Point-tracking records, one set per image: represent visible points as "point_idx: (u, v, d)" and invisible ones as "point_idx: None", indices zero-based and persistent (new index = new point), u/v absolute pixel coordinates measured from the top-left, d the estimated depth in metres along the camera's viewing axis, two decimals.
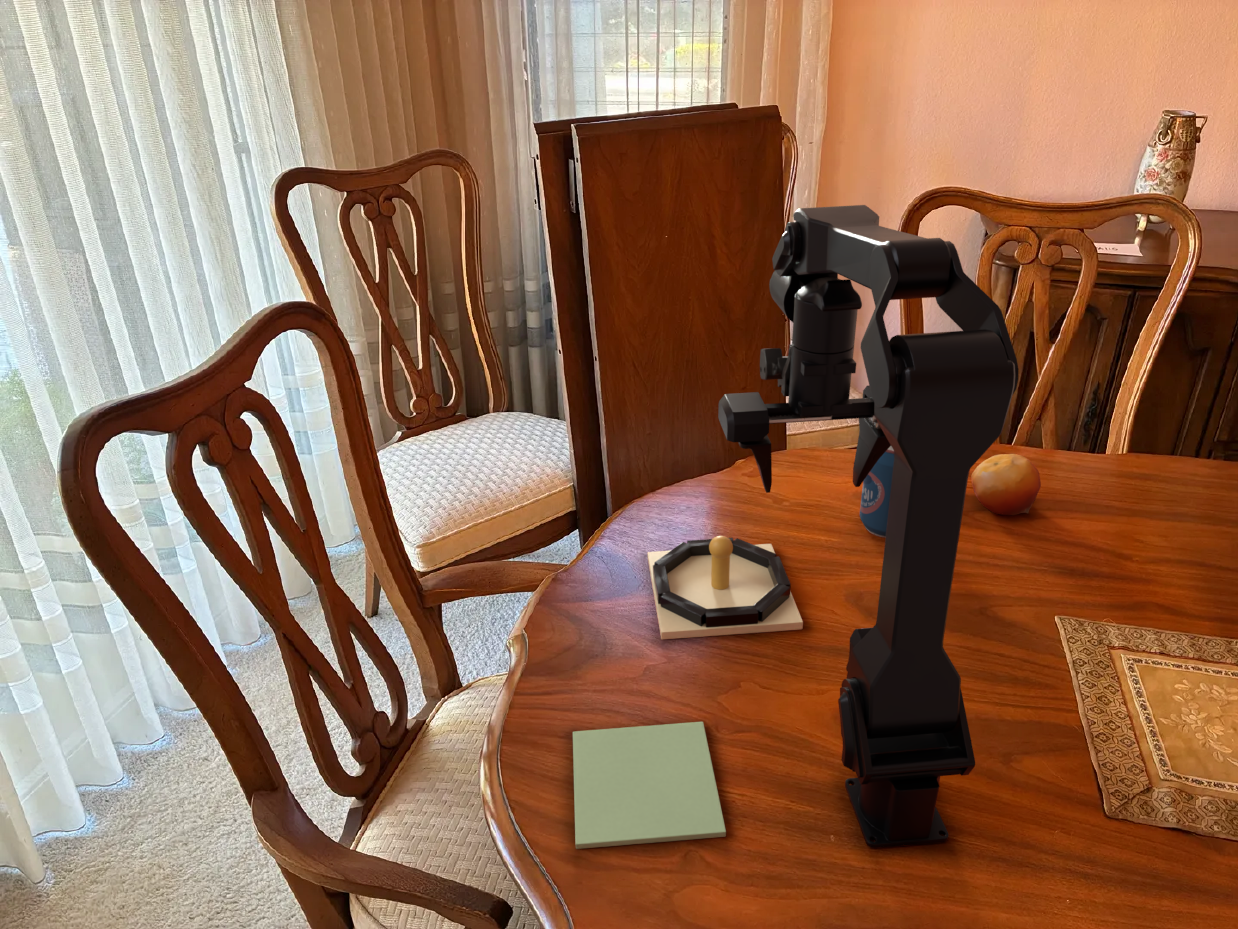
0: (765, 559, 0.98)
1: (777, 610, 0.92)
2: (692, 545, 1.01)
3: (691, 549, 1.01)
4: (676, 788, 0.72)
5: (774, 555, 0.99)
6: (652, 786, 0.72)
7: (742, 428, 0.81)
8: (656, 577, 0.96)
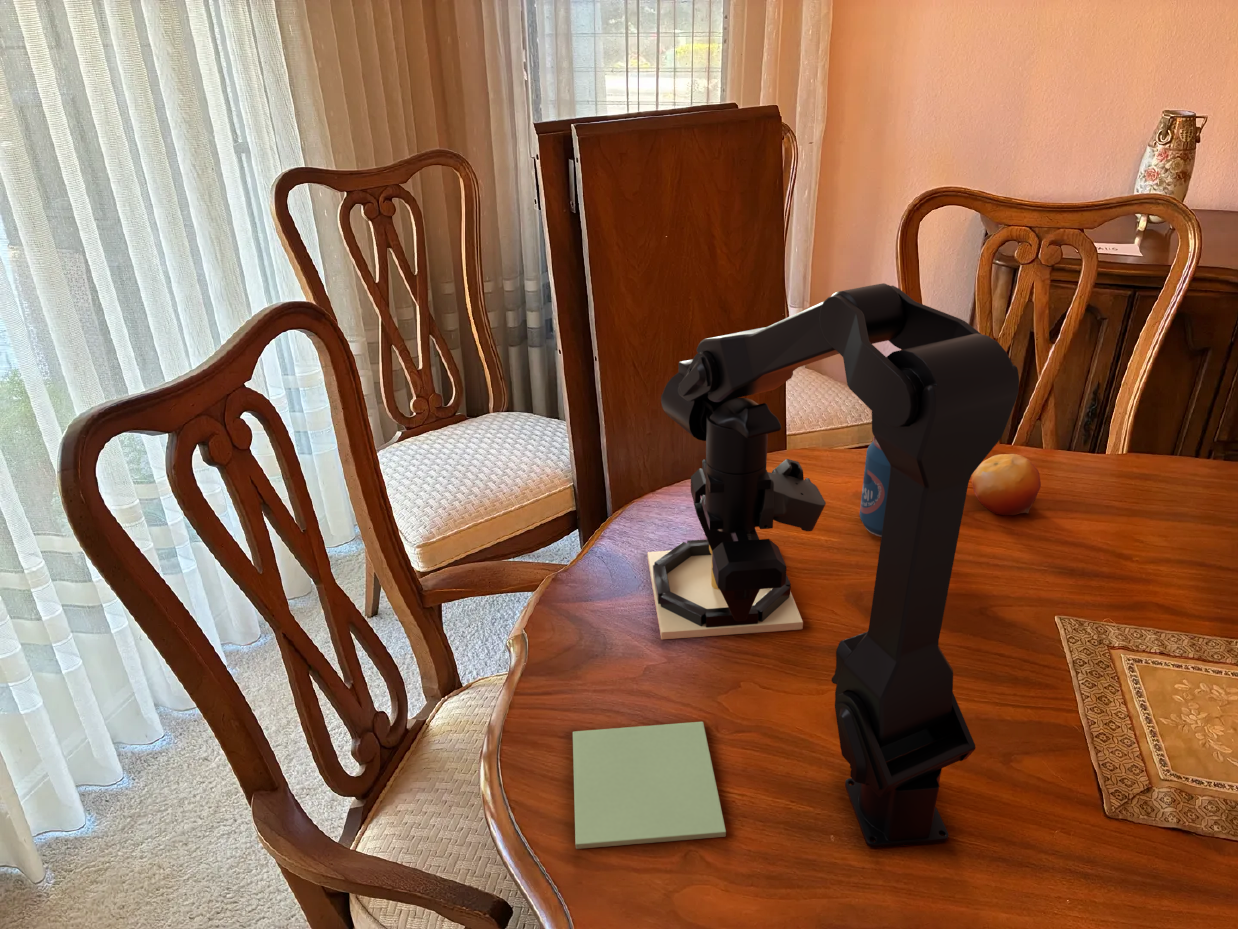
0: None
1: (777, 610, 0.92)
2: (692, 545, 1.01)
3: (691, 549, 1.01)
4: (676, 788, 0.72)
5: None
6: (652, 786, 0.72)
7: (691, 483, 0.91)
8: (656, 577, 0.96)
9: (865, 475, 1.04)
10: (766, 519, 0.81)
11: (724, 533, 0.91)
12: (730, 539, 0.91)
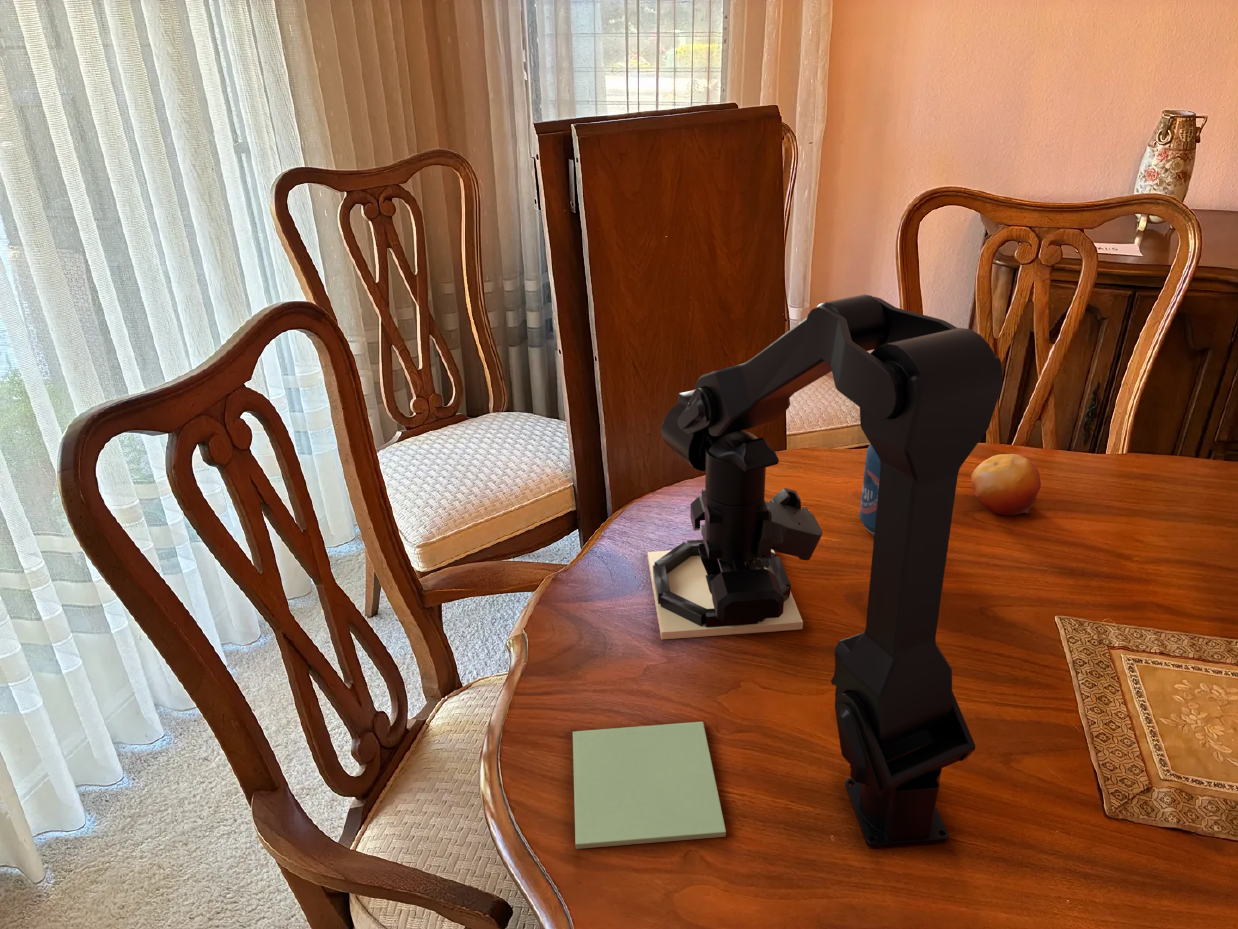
0: (765, 559, 0.98)
1: None
2: (692, 545, 1.01)
3: (691, 549, 1.01)
4: (676, 788, 0.72)
5: (774, 555, 0.99)
6: (652, 786, 0.72)
7: (691, 511, 0.93)
8: (656, 577, 0.96)
9: (865, 475, 1.04)
10: (764, 549, 0.83)
11: None
12: None
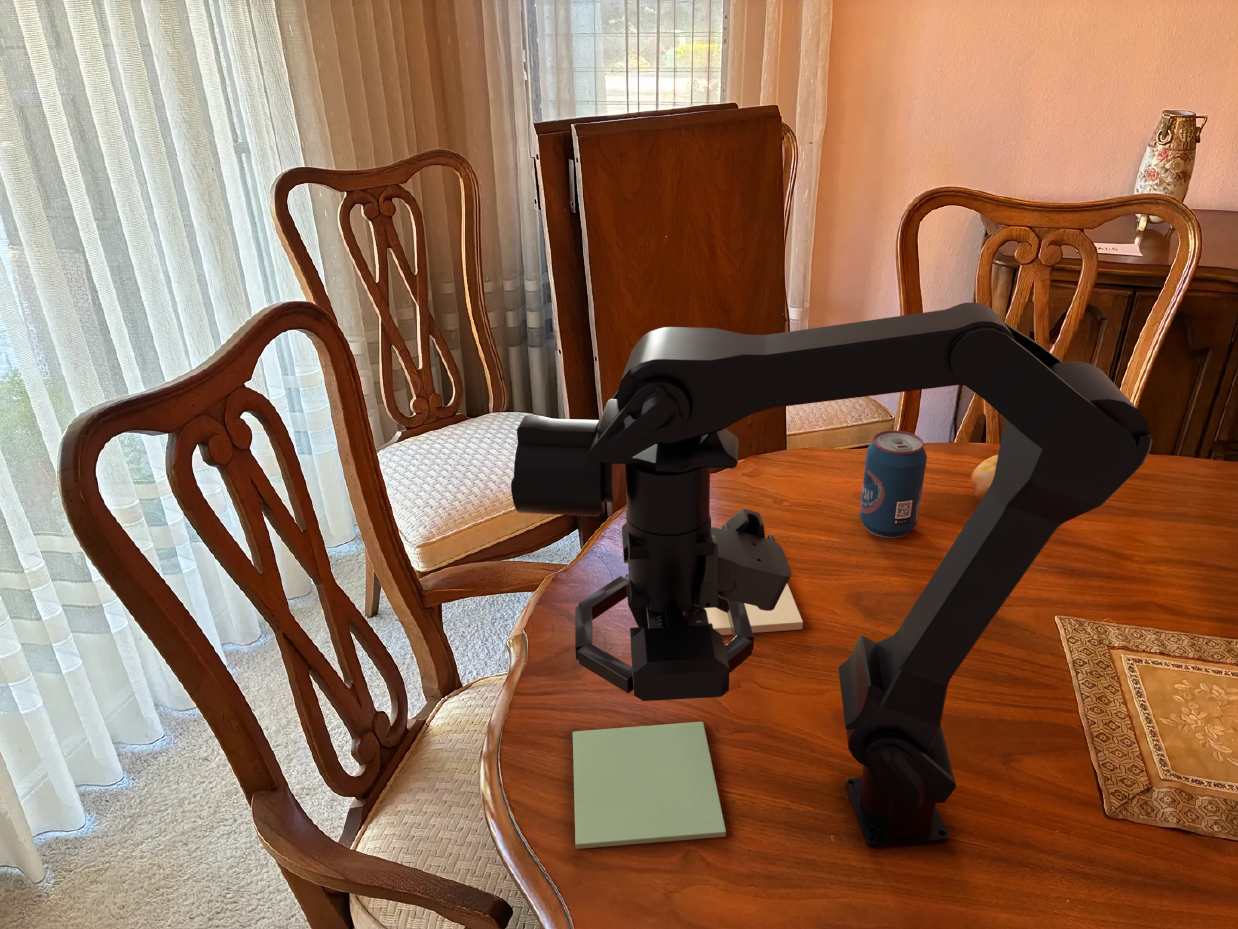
0: (723, 601, 0.75)
1: (777, 610, 0.92)
2: None
3: None
4: (676, 788, 0.72)
5: None
6: (652, 786, 0.72)
7: (622, 536, 0.70)
8: (577, 623, 0.72)
9: (865, 475, 1.04)
10: (708, 595, 0.59)
11: None
12: None
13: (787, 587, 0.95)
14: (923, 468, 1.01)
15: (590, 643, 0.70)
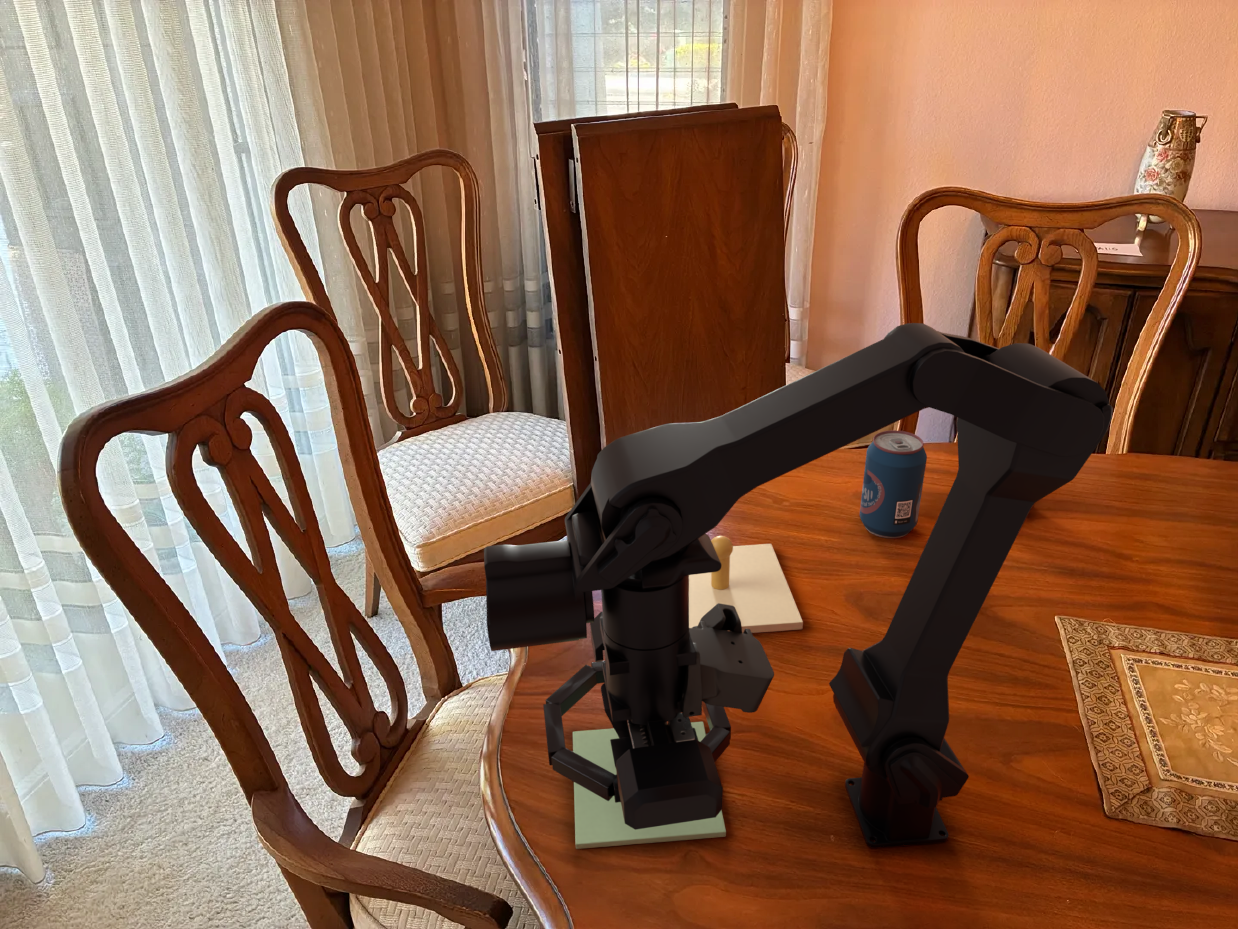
0: None
1: (777, 610, 0.92)
2: (597, 669, 0.75)
3: (596, 675, 0.75)
4: None
5: None
6: None
7: (591, 633, 0.67)
8: (547, 724, 0.69)
9: (865, 475, 1.04)
10: (692, 704, 0.57)
11: None
12: None
13: (787, 587, 0.95)
14: (923, 468, 1.01)
15: (563, 747, 0.67)
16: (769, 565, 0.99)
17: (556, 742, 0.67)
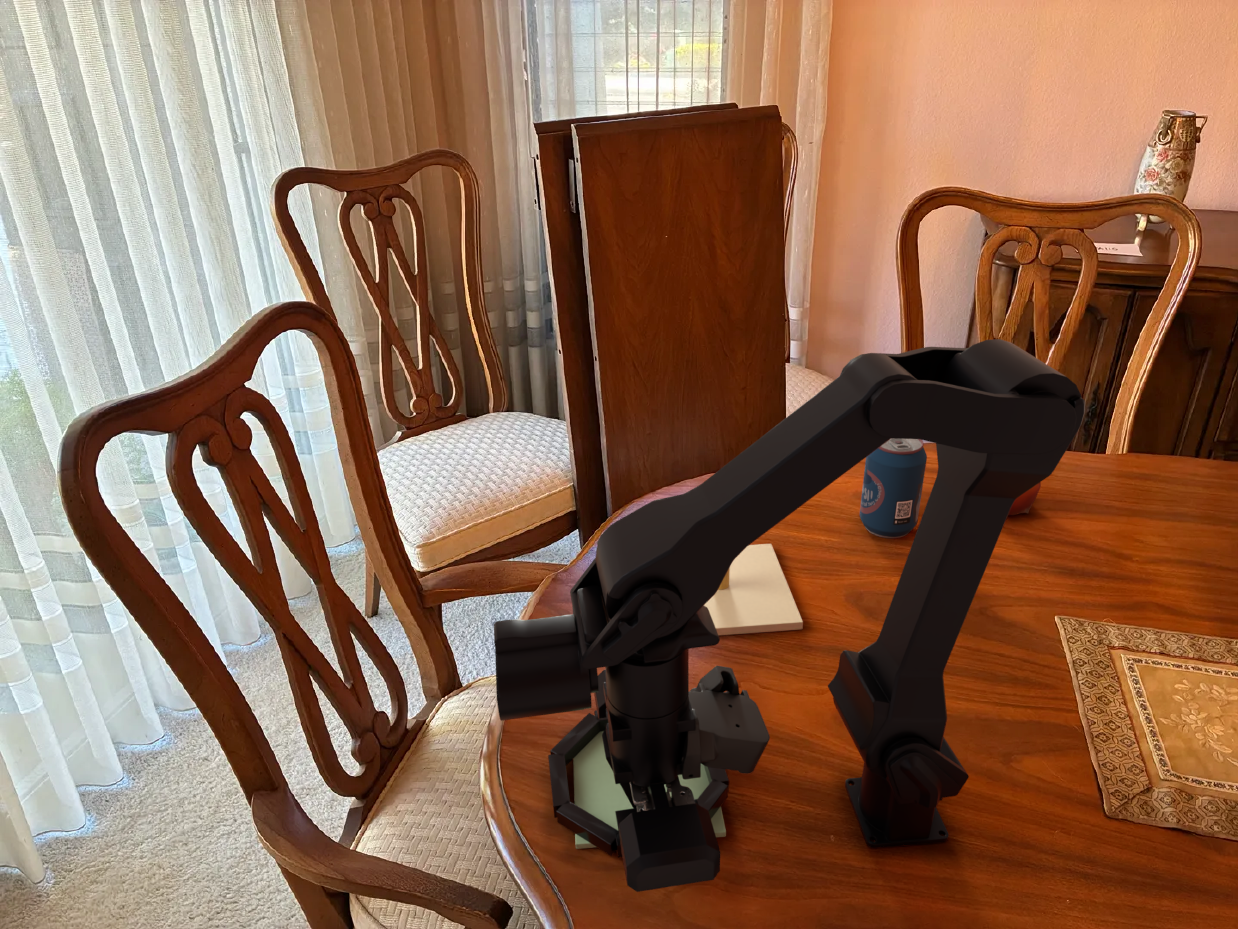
0: None
1: (777, 610, 0.92)
2: (600, 718, 0.78)
3: (599, 724, 0.77)
4: None
5: None
6: None
7: None
8: (552, 777, 0.72)
9: (865, 475, 1.04)
10: (691, 768, 0.60)
11: None
12: None
13: (787, 587, 0.95)
14: (923, 468, 1.01)
15: (568, 801, 0.70)
16: (769, 565, 0.99)
17: (561, 795, 0.70)
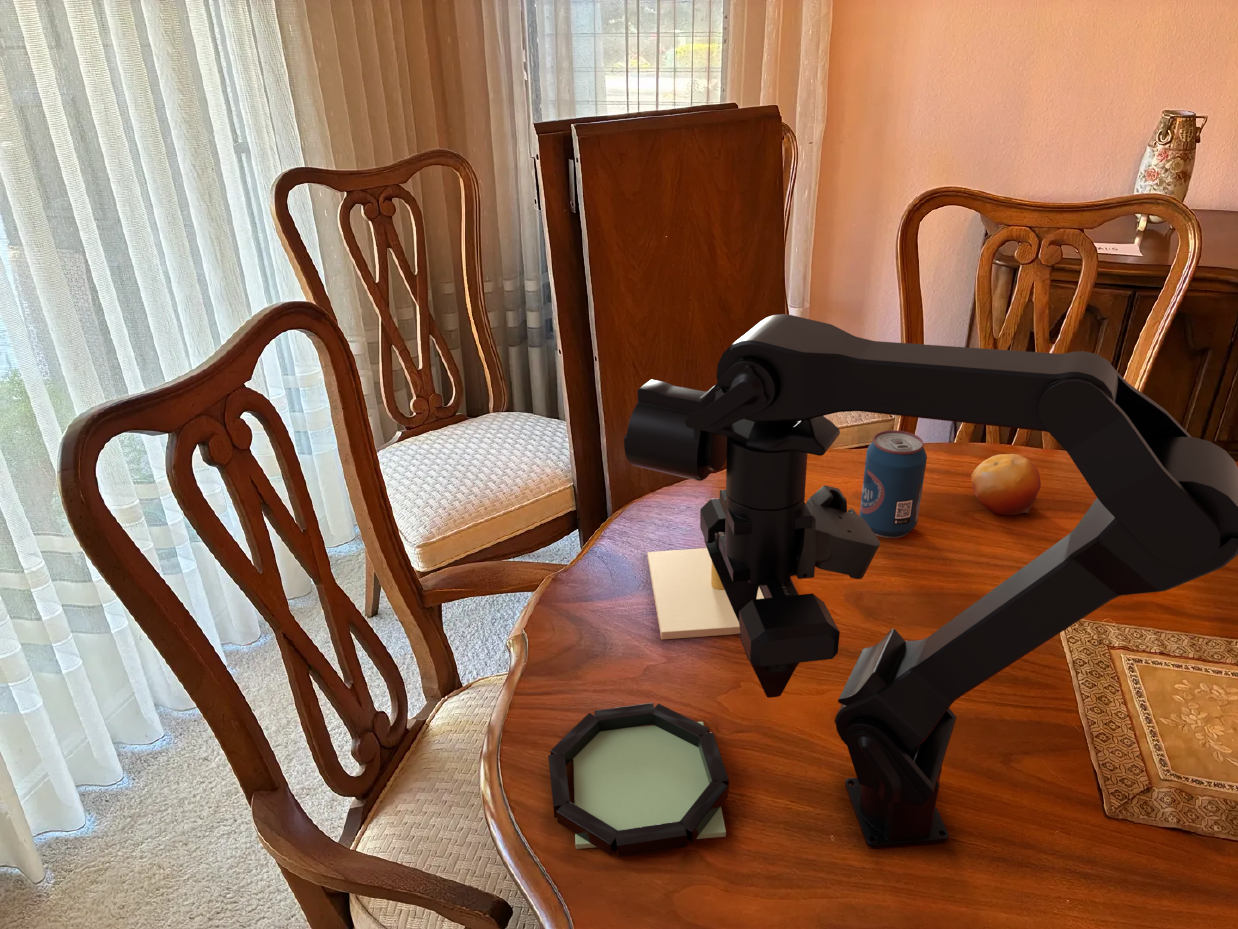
0: (694, 737, 0.75)
1: None
2: (600, 718, 0.78)
3: (599, 724, 0.77)
4: (676, 788, 0.72)
5: (706, 730, 0.76)
6: (652, 786, 0.72)
7: (702, 518, 0.73)
8: (552, 777, 0.72)
9: (865, 475, 1.04)
10: (806, 566, 0.63)
11: None
12: (751, 585, 0.73)
13: None
14: (923, 468, 1.01)
15: (568, 801, 0.70)
16: None
17: (561, 795, 0.70)
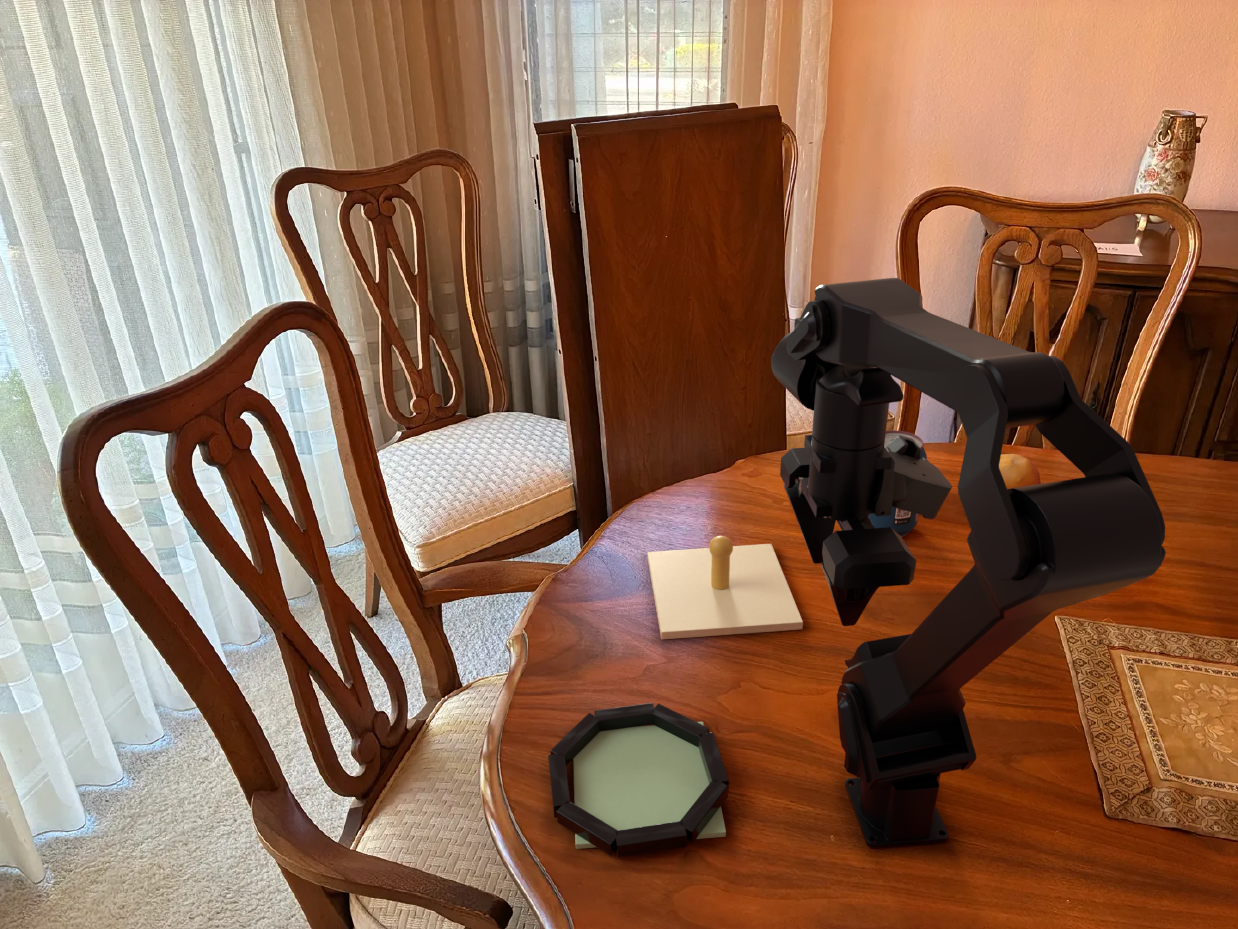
0: (694, 737, 0.75)
1: (777, 610, 0.92)
2: (600, 718, 0.78)
3: (599, 724, 0.77)
4: (676, 788, 0.72)
5: (706, 730, 0.76)
6: (652, 786, 0.72)
7: (782, 465, 0.79)
8: (552, 777, 0.72)
9: None
10: (884, 504, 0.69)
11: (820, 521, 0.78)
12: (826, 528, 0.79)
13: (787, 587, 0.95)
14: None
15: (568, 801, 0.70)
16: (769, 565, 0.99)
17: (561, 795, 0.70)
